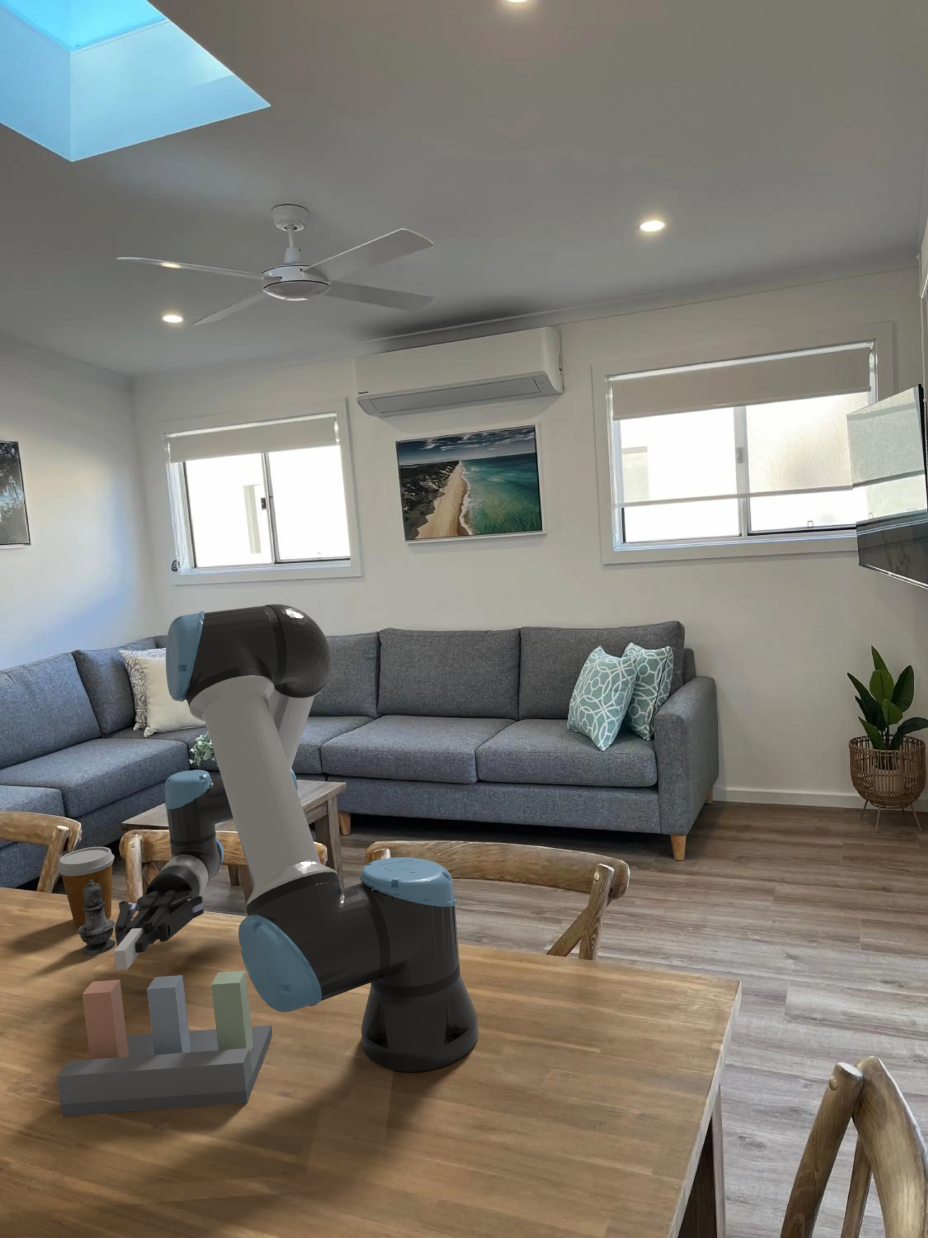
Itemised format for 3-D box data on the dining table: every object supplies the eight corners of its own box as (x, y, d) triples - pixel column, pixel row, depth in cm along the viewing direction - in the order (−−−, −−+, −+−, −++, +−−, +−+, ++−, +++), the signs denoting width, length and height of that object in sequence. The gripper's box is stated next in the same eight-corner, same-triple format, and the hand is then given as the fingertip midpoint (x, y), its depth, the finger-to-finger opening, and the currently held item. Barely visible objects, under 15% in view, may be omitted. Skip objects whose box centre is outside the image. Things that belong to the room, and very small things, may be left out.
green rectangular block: (253, 1045, 113) (245, 970, 112) (247, 1059, 110) (239, 982, 109) (225, 1047, 113) (218, 972, 112) (219, 1061, 110) (211, 984, 109)
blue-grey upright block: (190, 1050, 113) (182, 975, 112) (183, 1064, 110) (175, 987, 109) (163, 1051, 113) (155, 977, 112) (155, 1065, 110) (146, 989, 109)
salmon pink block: (128, 1054, 113) (119, 979, 112) (119, 1068, 110) (110, 992, 109) (101, 1056, 113) (92, 981, 112) (91, 1070, 110) (82, 994, 109)
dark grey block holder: (272, 1035, 118) (268, 1000, 118) (247, 1103, 104) (243, 1063, 104) (108, 1047, 118) (104, 1012, 118) (61, 1116, 104) (56, 1076, 104)
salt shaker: (104, 956, 146) (95, 886, 145) (72, 955, 147) (63, 885, 146) (124, 939, 151) (116, 872, 150) (93, 939, 153) (85, 871, 152)
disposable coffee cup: (67, 914, 164) (60, 851, 163) (122, 904, 167) (115, 842, 166) (61, 935, 155) (52, 869, 154) (118, 924, 158) (111, 859, 157)
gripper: (220, 907, 141) (172, 984, 118) (139, 912, 142) (74, 990, 118) (215, 862, 141) (166, 930, 117) (134, 867, 141) (68, 936, 117)
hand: (120, 960), depth 118 cm, fingers closed
